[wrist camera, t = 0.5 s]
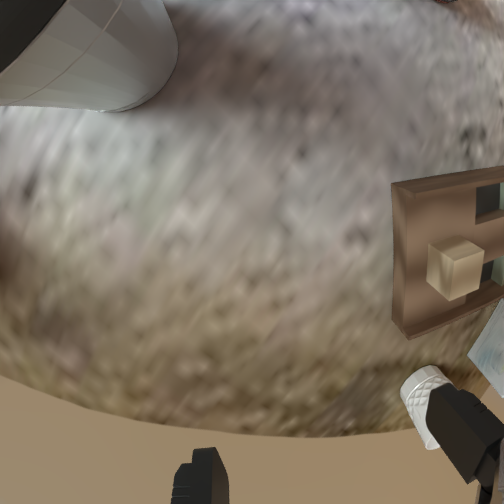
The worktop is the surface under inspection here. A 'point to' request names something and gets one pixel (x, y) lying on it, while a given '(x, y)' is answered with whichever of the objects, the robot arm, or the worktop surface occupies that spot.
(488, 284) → the box
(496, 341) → the skincare box
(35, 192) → the worktop surface
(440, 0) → the supplement bottle
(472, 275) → the maple block
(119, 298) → the worktop surface
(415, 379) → the white cup
